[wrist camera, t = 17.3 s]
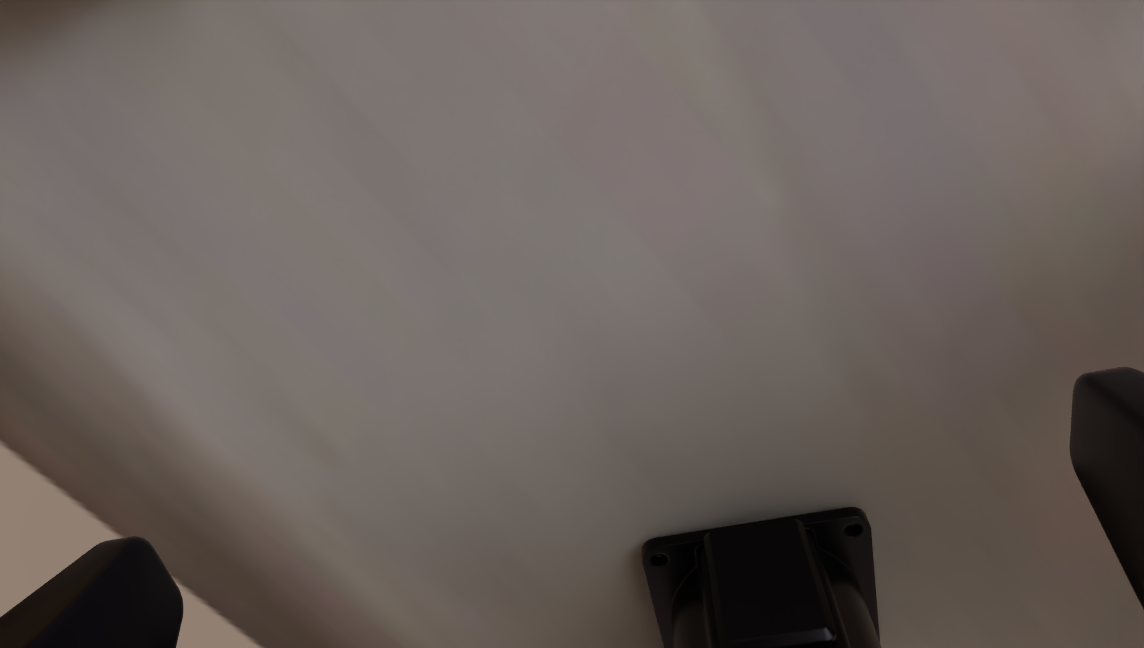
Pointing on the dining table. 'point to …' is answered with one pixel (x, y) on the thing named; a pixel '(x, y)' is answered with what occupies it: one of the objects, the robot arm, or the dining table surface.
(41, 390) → the dining table surface
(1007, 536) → the dining table surface
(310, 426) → the dining table surface
